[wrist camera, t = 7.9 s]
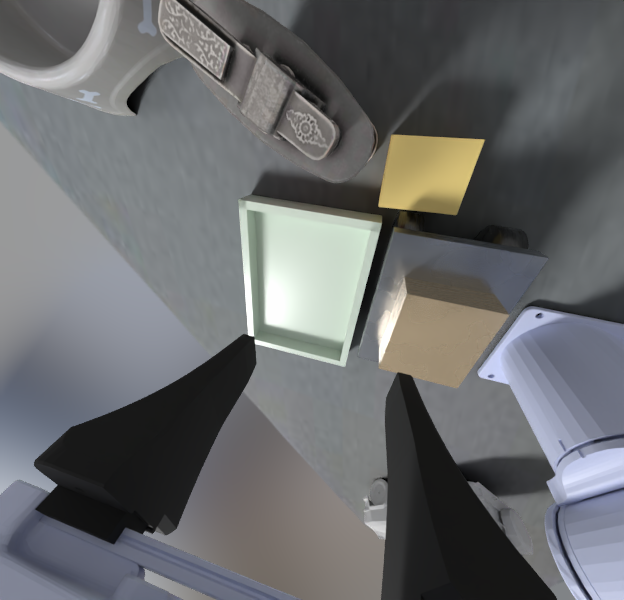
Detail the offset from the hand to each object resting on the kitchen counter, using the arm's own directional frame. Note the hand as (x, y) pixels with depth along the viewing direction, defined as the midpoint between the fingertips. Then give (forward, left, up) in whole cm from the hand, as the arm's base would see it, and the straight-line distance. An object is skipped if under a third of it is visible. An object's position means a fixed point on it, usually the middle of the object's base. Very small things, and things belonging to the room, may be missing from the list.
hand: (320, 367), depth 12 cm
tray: (+3, +2, -10) cm, 11 cm away
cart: (-6, -1, -10) cm, 12 cm away
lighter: (+3, -11, -11) cm, 15 cm away
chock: (-3, -8, -11) cm, 14 cm away
